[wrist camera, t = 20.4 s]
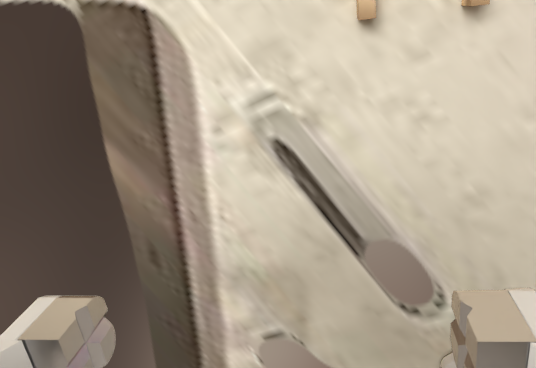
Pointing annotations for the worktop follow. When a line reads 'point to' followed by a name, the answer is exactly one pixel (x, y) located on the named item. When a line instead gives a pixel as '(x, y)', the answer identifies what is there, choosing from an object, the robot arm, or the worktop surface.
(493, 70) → the worktop surface
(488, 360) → the robot arm
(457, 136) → the worktop surface
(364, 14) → the oak shelf rails
